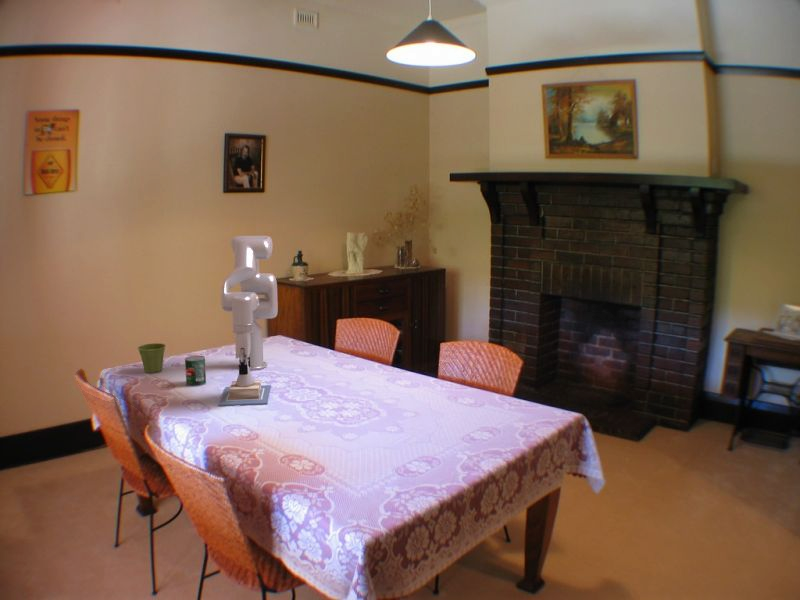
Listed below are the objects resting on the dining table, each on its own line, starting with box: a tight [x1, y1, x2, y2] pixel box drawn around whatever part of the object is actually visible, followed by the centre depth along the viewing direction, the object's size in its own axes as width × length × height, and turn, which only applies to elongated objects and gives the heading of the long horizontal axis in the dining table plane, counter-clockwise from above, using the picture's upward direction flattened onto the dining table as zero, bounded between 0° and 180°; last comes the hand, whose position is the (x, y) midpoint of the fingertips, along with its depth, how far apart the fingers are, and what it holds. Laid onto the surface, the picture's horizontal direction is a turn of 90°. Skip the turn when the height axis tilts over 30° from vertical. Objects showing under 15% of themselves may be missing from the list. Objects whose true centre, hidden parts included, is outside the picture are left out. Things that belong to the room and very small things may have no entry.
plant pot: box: [136, 342, 167, 374], centre depth 285 cm, size 12×12×11 cm
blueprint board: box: [217, 384, 272, 407], centre depth 253 cm, size 22×18×1 cm
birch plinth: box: [229, 379, 262, 400], centre depth 252 cm, size 11×11×4 cm
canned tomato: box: [184, 355, 207, 387], centre depth 267 cm, size 8×8×11 cm
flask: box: [235, 359, 255, 387], centre depth 251 cm, size 7×7×10 cm
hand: (244, 370), depth 251 cm, fingers open, 9 cm apart
